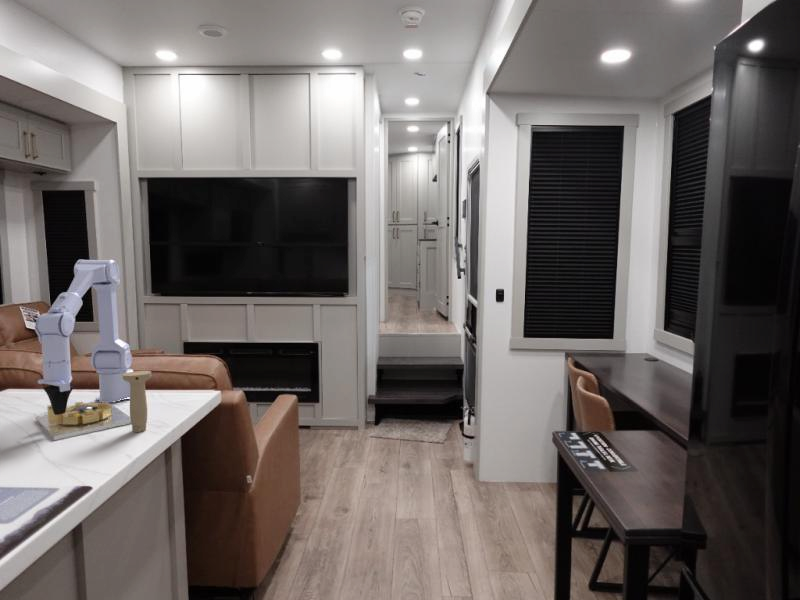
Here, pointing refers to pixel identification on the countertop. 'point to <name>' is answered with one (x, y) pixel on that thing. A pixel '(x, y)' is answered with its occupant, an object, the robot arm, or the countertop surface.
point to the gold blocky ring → (80, 414)
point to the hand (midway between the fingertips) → (59, 413)
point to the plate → (70, 430)
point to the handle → (138, 398)
